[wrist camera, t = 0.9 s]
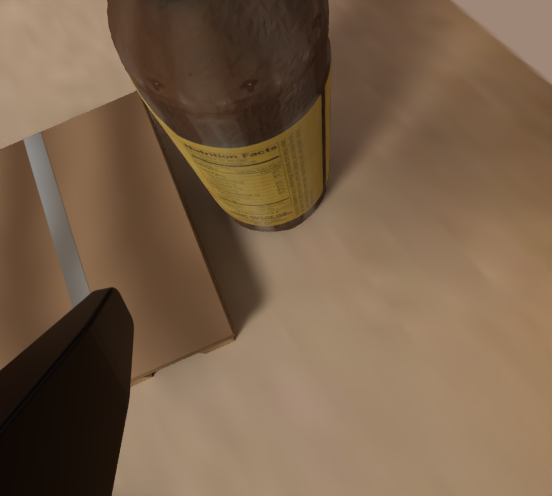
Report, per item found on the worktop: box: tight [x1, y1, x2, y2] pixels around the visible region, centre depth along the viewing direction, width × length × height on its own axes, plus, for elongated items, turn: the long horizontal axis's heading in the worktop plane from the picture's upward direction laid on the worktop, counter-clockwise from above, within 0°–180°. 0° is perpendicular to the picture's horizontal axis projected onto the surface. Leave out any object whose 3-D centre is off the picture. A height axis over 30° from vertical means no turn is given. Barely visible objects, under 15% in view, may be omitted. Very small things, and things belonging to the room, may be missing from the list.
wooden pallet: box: [0, 91, 237, 386], centre depth 23 cm, size 16×14×2 cm
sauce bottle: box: [107, 0, 331, 232], centre depth 15 cm, size 6×6×20 cm
